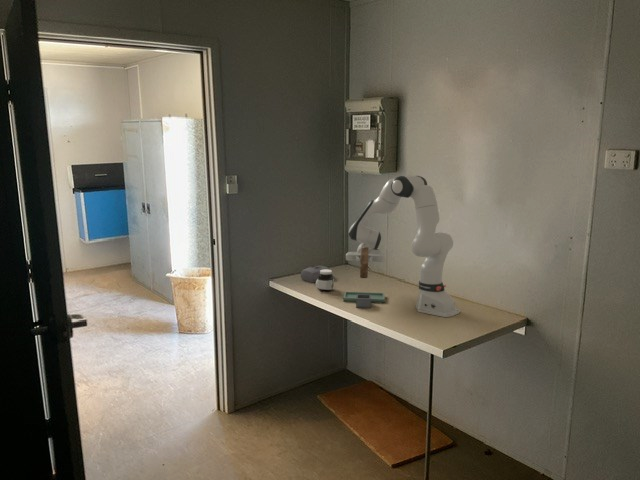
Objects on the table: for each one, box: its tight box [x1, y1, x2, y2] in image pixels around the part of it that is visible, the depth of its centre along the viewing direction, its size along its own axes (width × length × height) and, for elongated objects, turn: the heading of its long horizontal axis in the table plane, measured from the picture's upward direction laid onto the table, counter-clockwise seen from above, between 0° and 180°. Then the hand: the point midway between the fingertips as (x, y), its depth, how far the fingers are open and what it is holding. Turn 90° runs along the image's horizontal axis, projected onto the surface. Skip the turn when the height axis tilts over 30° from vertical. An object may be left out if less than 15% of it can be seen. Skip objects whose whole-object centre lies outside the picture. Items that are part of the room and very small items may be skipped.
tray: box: [342, 291, 386, 304], centre depth 279 cm, size 22×12×2 cm, turn 84°
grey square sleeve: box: [355, 294, 372, 309], centre depth 267 cm, size 8×8×5 cm
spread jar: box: [315, 269, 335, 293], centre depth 296 cm, size 12×11×12 cm
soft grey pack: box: [300, 265, 332, 283], centre depth 319 cm, size 15×8×20 cm
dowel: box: [359, 247, 369, 279], centre depth 269 cm, size 4×4×16 cm
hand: (364, 260), depth 268 cm, fingers closed on dowel, 4 cm apart
